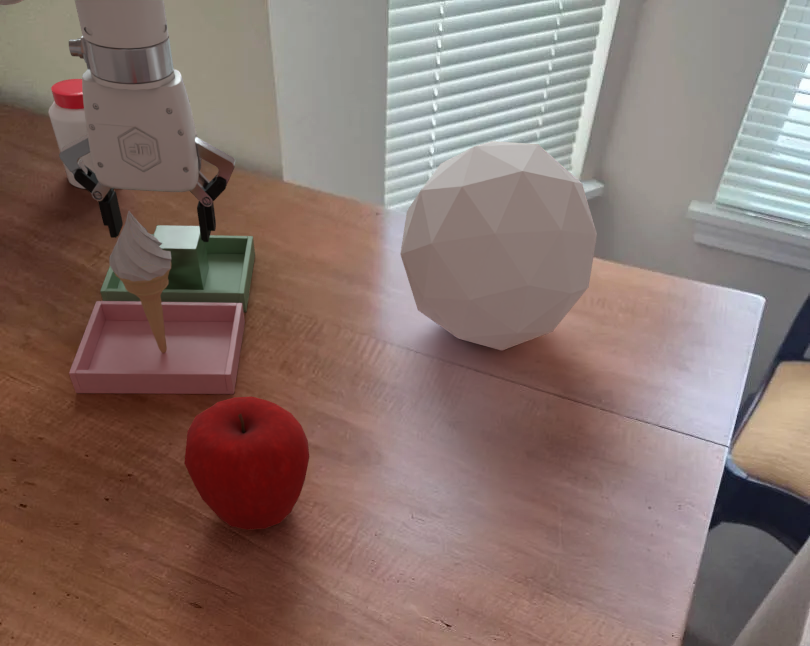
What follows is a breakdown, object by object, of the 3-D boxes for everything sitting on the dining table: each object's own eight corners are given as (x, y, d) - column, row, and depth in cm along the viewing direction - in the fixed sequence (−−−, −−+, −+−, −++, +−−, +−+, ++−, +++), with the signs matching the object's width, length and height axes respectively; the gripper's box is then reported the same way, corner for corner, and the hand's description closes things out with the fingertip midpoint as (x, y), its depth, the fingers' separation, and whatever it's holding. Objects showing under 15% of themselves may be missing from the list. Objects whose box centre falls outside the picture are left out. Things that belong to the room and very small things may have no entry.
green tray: (105, 310, 82) (99, 291, 80) (126, 252, 90) (121, 233, 88) (246, 312, 83) (243, 293, 81) (255, 254, 91) (253, 235, 89)
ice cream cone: (149, 375, 75) (111, 233, 63) (126, 346, 77) (85, 204, 66) (200, 356, 77) (172, 215, 65) (176, 329, 80) (145, 188, 68)
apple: (332, 529, 63) (328, 432, 55) (224, 570, 60) (202, 474, 52) (284, 456, 69) (274, 358, 60) (183, 491, 65) (157, 392, 57)
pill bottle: (78, 194, 98) (52, 103, 90) (60, 170, 102) (33, 81, 94) (136, 182, 101) (115, 92, 93) (115, 159, 105) (94, 71, 97)
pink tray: (75, 393, 73) (68, 373, 71) (102, 320, 81) (96, 300, 79) (234, 394, 74) (230, 374, 72) (244, 322, 82) (242, 302, 80)
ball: (448, 355, 91) (437, 176, 86) (617, 341, 82) (615, 142, 77) (374, 360, 74) (356, 139, 70) (575, 343, 66) (570, 90, 61)
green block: (158, 289, 84) (148, 248, 80) (165, 266, 87) (156, 224, 84) (203, 290, 85) (196, 249, 81) (209, 266, 88) (202, 225, 84)
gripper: (21, 66, 66) (72, 247, 79) (220, 79, 68) (238, 255, 81) (44, 37, 71) (88, 212, 84) (229, 50, 73) (245, 220, 86)
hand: (162, 233), depth 83 cm, fingers open, 9 cm apart
